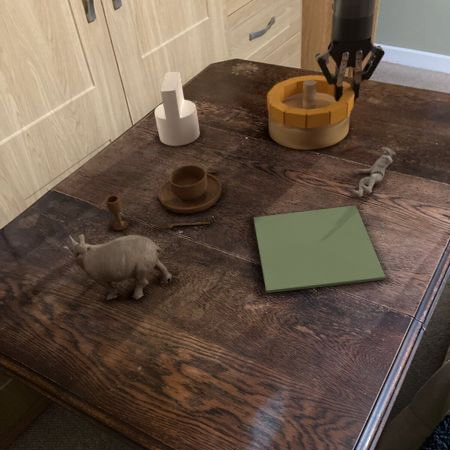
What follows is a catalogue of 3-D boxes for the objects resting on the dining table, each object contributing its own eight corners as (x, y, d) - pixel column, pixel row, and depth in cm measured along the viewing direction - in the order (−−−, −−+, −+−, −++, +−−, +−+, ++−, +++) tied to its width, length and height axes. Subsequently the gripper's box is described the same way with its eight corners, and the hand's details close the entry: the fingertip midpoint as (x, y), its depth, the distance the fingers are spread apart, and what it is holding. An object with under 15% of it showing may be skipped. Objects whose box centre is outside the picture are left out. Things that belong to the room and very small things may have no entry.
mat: (355, 207, 86) (355, 205, 86) (385, 279, 74) (385, 277, 74) (253, 219, 87) (253, 217, 86) (266, 293, 75) (266, 290, 74)
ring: (341, 83, 108) (342, 70, 106) (361, 121, 97) (362, 107, 95) (263, 93, 109) (263, 81, 107) (274, 132, 97) (273, 119, 95)
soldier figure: (339, 196, 91) (360, 146, 94) (358, 211, 92) (377, 161, 96) (369, 183, 84) (390, 129, 88) (389, 199, 85) (408, 146, 89)
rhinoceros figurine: (172, 300, 72) (97, 225, 66) (115, 328, 80) (43, 264, 74) (188, 267, 78) (120, 195, 71) (133, 297, 85) (68, 234, 79)
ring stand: (338, 105, 112) (342, 60, 105) (357, 144, 100) (362, 96, 93) (264, 114, 112) (262, 70, 105) (274, 154, 101) (273, 107, 93)
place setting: (222, 224, 87) (219, 197, 82) (111, 233, 88) (102, 206, 84) (222, 169, 99) (219, 142, 94) (124, 178, 100) (116, 152, 96)
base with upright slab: (162, 126, 113) (151, 73, 104) (201, 123, 112) (193, 70, 103) (157, 147, 107) (145, 92, 98) (198, 144, 106) (190, 89, 97)
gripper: (319, 21, 87) (316, 114, 100) (397, 10, 87) (384, 105, 100) (311, 7, 92) (309, 97, 105) (385, -3, 92) (374, 89, 105)
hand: (345, 100), depth 102 cm, fingers closed on ring, 2 cm apart
